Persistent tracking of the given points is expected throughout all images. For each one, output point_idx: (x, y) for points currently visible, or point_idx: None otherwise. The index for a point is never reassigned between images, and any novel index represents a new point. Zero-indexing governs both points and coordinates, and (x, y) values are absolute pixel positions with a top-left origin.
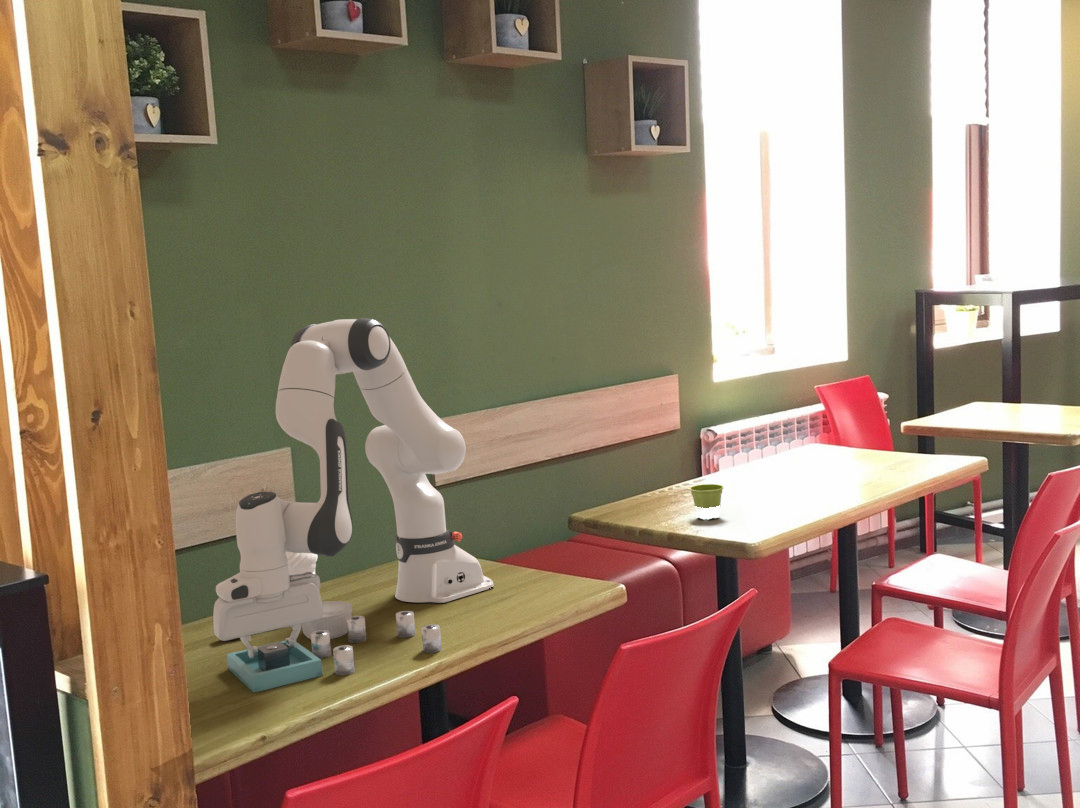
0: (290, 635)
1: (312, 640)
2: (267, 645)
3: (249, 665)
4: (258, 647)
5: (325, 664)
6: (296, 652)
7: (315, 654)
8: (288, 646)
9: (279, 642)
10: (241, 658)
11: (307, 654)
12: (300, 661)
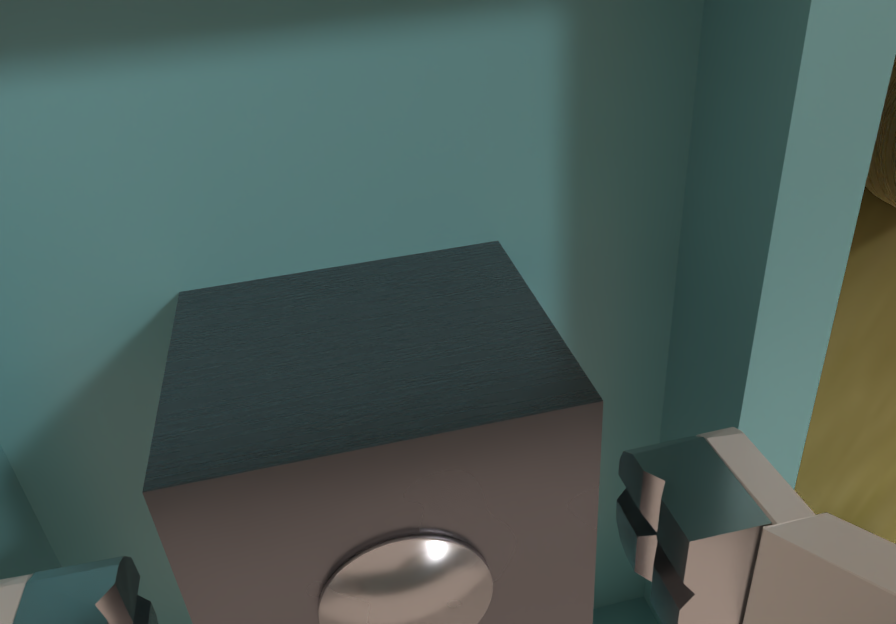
0: (793, 554)
1: None
2: (353, 480)
3: (37, 120)
4: (176, 509)
5: None
6: (723, 234)
7: (889, 181)
8: (631, 536)
9: (578, 426)
10: None
11: None
12: (665, 326)
